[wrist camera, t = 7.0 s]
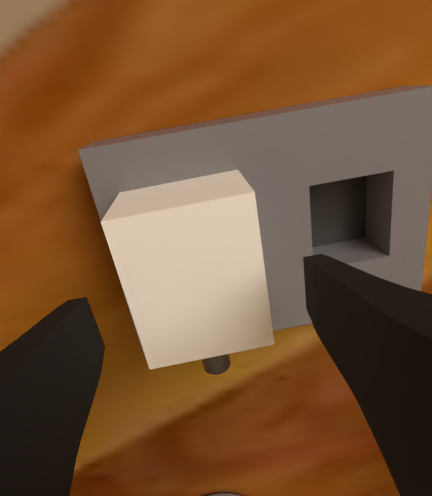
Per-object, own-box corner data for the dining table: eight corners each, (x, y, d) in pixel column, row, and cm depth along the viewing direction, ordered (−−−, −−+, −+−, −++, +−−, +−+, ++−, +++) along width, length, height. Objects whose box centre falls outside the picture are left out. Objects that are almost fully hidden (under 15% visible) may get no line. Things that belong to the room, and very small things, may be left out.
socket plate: (392, 278, 20) (419, 303, 17) (148, 324, 19) (143, 355, 17) (403, 86, 16) (441, 84, 13) (93, 141, 15) (78, 149, 13)
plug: (253, 307, 19) (279, 383, 14) (167, 324, 19) (162, 407, 14) (231, 160, 16) (254, 191, 11) (126, 181, 16) (100, 222, 11)
